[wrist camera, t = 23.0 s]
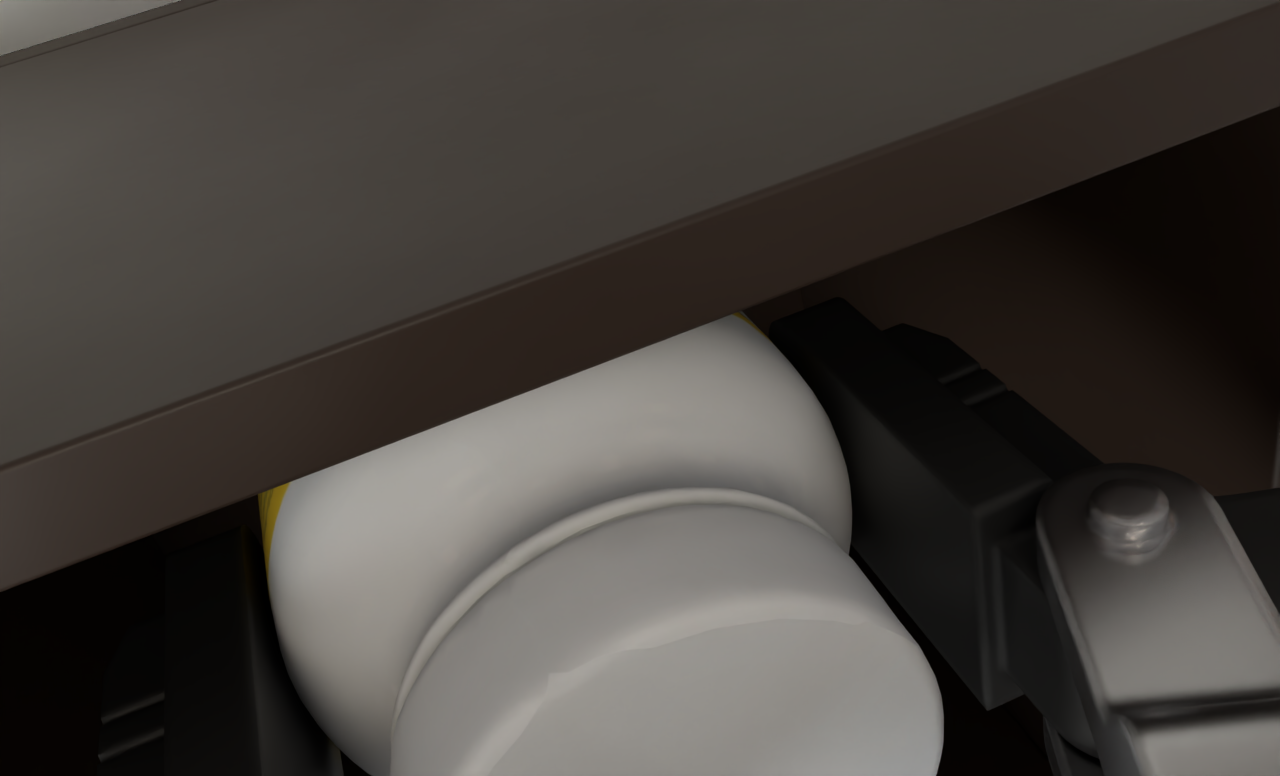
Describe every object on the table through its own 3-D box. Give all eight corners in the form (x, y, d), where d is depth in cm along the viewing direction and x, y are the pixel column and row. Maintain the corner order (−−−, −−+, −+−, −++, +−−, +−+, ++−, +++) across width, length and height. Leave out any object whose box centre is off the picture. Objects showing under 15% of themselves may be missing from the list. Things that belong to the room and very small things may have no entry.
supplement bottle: (315, 492, 17) (439, 1176, 9) (161, 153, 14) (143, 726, 6) (654, 369, 18) (1037, 890, 10) (576, 27, 15) (1030, 379, 7)
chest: (-158, 103, 16) (-704, 722, 6) (753, -177, 18) (1427, -49, 8) (247, 743, 23) (293, 1476, 14) (854, 491, 25) (1268, 970, 16)
